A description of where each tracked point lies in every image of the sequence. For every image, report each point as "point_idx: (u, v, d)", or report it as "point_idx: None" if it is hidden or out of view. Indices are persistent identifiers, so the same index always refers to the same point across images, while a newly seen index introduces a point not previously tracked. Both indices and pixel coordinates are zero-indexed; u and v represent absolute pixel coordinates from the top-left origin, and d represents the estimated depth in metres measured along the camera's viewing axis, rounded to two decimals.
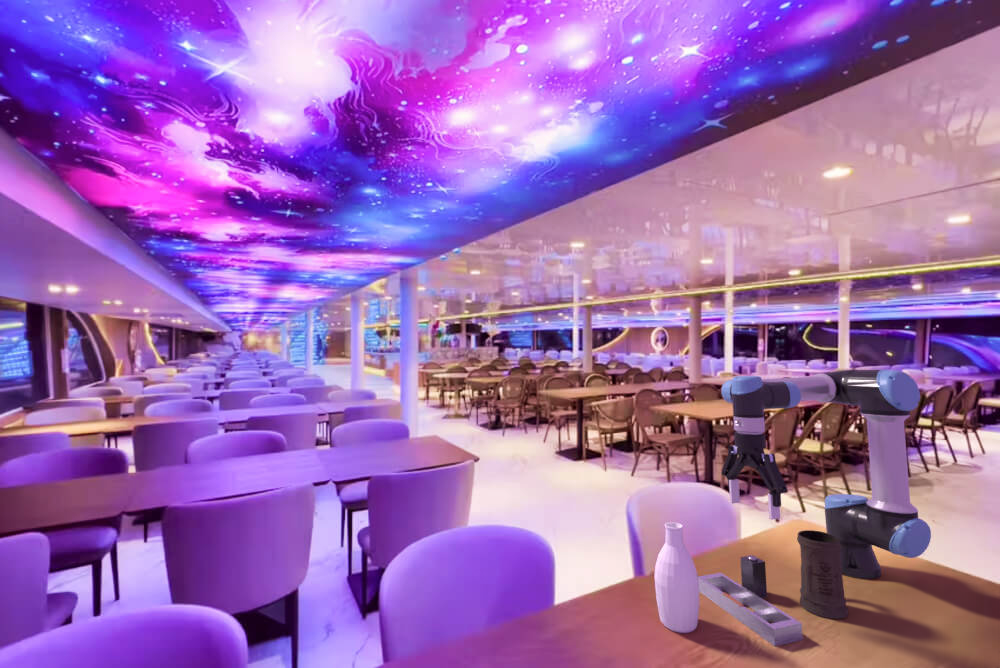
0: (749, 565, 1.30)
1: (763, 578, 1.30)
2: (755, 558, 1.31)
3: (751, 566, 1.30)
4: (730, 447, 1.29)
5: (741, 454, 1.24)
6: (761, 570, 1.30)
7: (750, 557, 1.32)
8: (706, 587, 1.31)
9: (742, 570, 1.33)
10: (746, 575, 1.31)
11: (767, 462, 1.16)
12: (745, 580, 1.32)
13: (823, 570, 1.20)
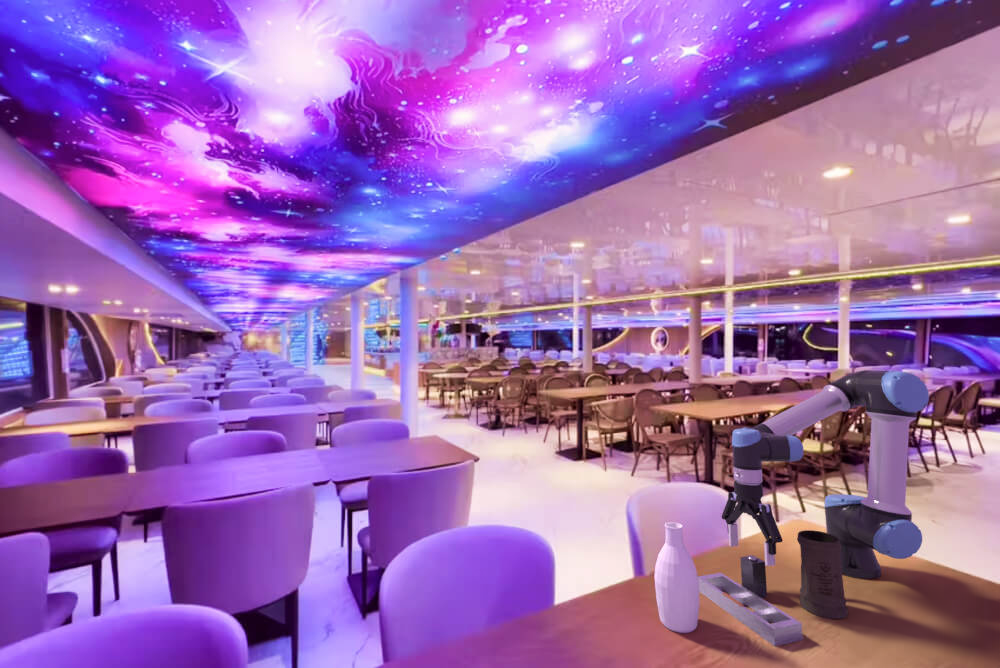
0: (749, 565, 1.30)
1: (763, 578, 1.30)
2: (755, 558, 1.31)
3: (751, 566, 1.30)
4: (730, 494, 1.38)
5: (740, 502, 1.34)
6: (761, 570, 1.30)
7: (750, 557, 1.32)
8: (706, 587, 1.31)
9: (742, 570, 1.33)
10: (746, 575, 1.31)
11: (764, 512, 1.26)
12: (745, 580, 1.32)
13: (823, 570, 1.20)
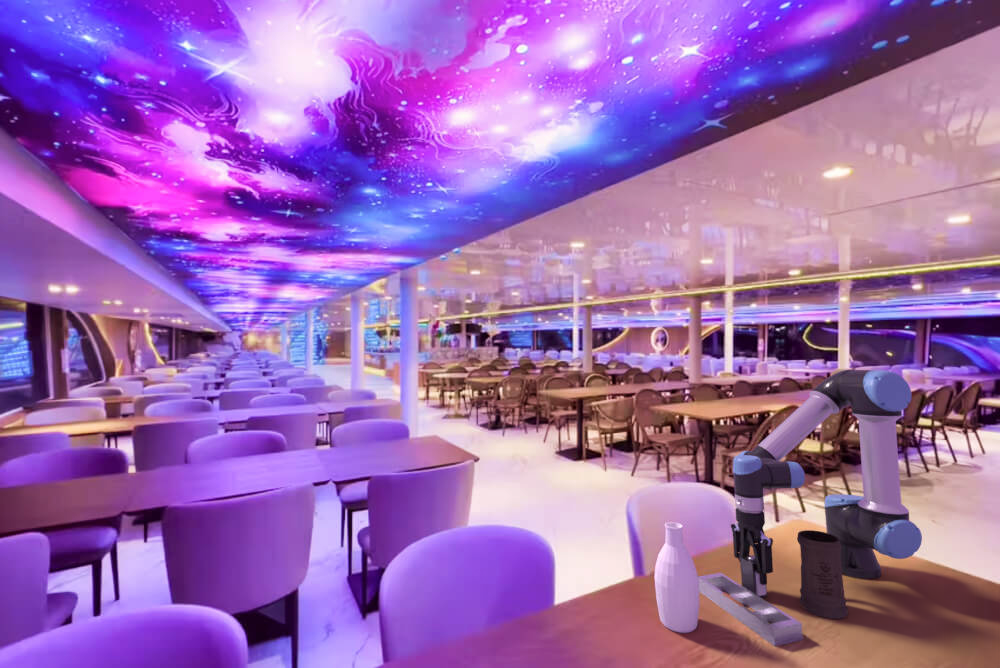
0: (749, 565, 1.30)
1: None
2: None
3: (751, 566, 1.30)
4: (732, 525, 1.38)
5: (742, 529, 1.33)
6: None
7: (750, 557, 1.32)
8: (706, 587, 1.31)
9: (742, 570, 1.33)
10: (746, 575, 1.31)
11: (764, 546, 1.26)
12: (745, 580, 1.32)
13: (822, 570, 1.20)
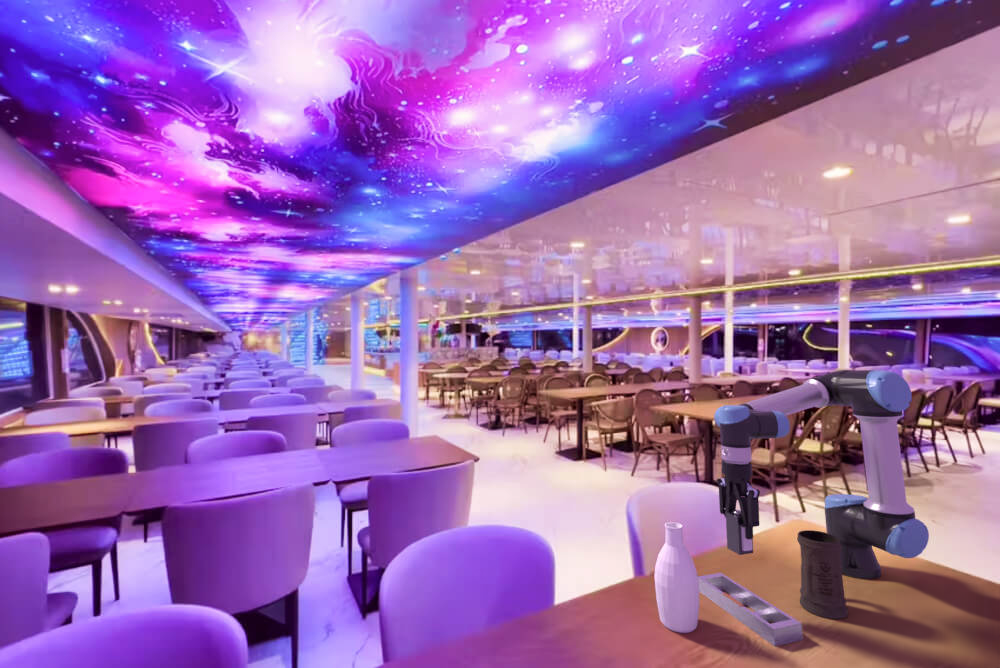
0: (735, 519, 1.23)
1: None
2: None
3: (736, 520, 1.22)
4: (718, 480, 1.30)
5: (728, 483, 1.26)
6: None
7: (736, 511, 1.25)
8: (706, 587, 1.31)
9: (727, 525, 1.26)
10: (731, 530, 1.24)
11: (750, 497, 1.19)
12: (730, 535, 1.24)
13: (823, 570, 1.20)
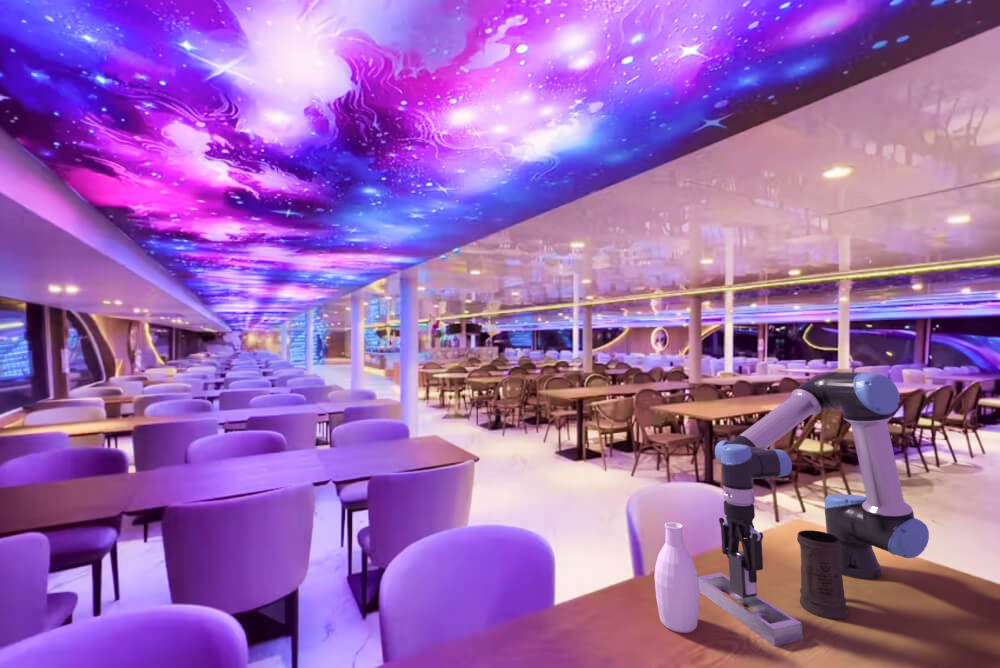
0: (738, 561, 1.21)
1: None
2: None
3: (739, 563, 1.21)
4: (720, 519, 1.29)
5: (730, 523, 1.24)
6: None
7: (739, 553, 1.23)
8: (706, 587, 1.31)
9: (730, 567, 1.24)
10: (734, 572, 1.23)
11: (753, 541, 1.17)
12: (733, 578, 1.23)
13: (823, 570, 1.20)
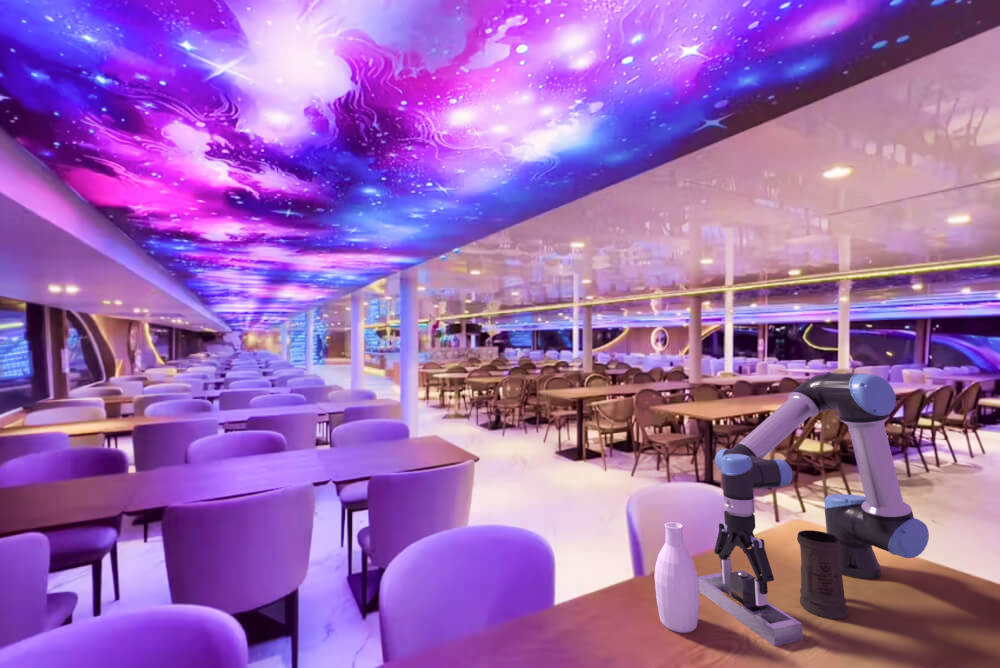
0: (739, 581, 1.21)
1: (753, 596, 1.21)
2: (745, 574, 1.22)
3: (741, 583, 1.20)
4: (720, 525, 1.29)
5: (731, 534, 1.24)
6: (751, 587, 1.21)
7: (740, 573, 1.23)
8: (706, 587, 1.31)
9: (731, 587, 1.24)
10: (735, 592, 1.22)
11: (756, 548, 1.17)
12: (735, 597, 1.23)
13: (822, 570, 1.20)
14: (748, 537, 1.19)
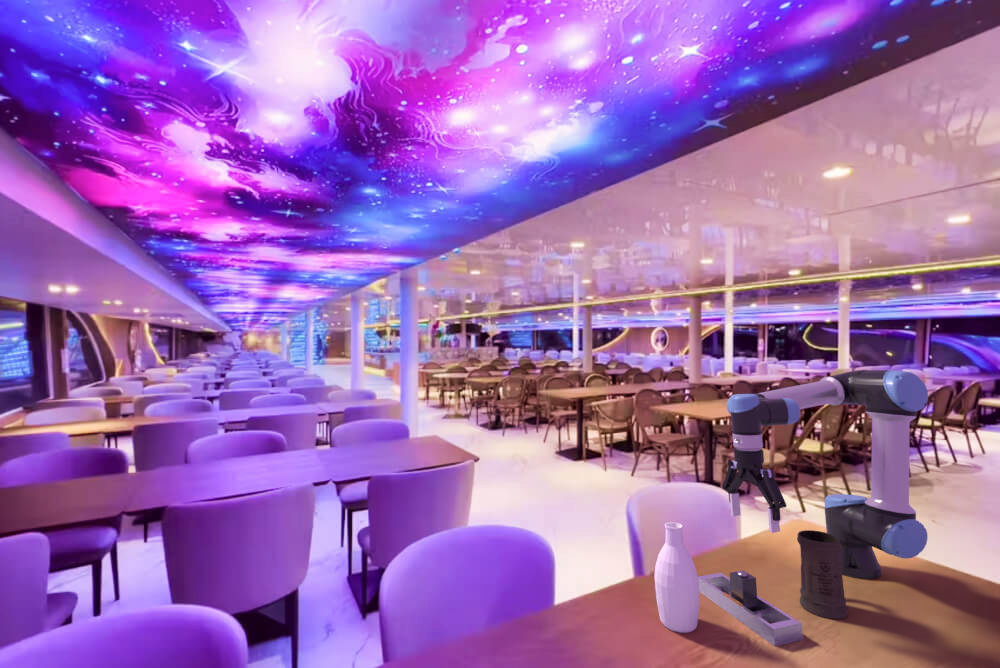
0: (739, 581, 1.21)
1: (753, 595, 1.21)
2: (745, 574, 1.22)
3: (741, 583, 1.20)
4: (730, 462, 1.34)
5: (741, 469, 1.29)
6: (751, 587, 1.21)
7: (740, 573, 1.23)
8: (706, 587, 1.31)
9: (731, 587, 1.24)
10: (735, 592, 1.22)
11: (766, 478, 1.22)
12: (735, 597, 1.23)
13: (823, 570, 1.20)
14: (757, 470, 1.25)
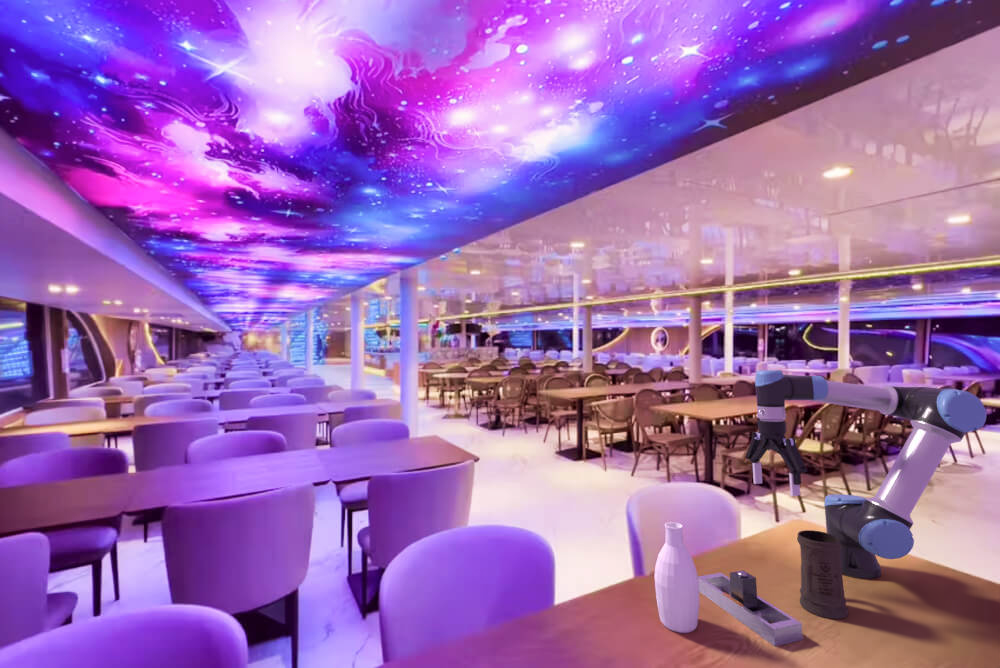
0: (739, 581, 1.21)
1: (753, 595, 1.21)
2: (745, 574, 1.22)
3: (741, 583, 1.20)
4: (753, 434, 1.44)
5: (764, 439, 1.40)
6: (751, 587, 1.21)
7: (740, 573, 1.23)
8: (706, 587, 1.31)
9: (731, 587, 1.24)
10: (735, 592, 1.22)
11: (788, 446, 1.32)
12: (735, 597, 1.23)
13: (823, 570, 1.20)
14: (780, 439, 1.35)
